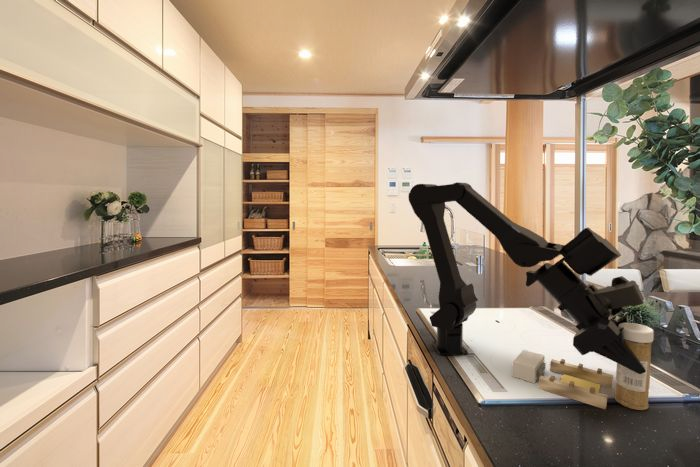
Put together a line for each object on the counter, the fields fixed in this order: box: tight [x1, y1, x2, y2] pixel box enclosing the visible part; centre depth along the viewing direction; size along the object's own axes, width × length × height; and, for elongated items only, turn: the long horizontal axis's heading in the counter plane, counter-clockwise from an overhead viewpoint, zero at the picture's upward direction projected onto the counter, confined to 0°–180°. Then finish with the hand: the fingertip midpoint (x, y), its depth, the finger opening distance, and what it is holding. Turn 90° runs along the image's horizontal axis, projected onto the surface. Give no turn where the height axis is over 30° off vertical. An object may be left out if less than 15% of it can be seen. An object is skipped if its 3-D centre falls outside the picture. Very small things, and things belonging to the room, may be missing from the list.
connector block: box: [511, 349, 546, 384], centre depth 69 cm, size 4×7×3 cm, turn 138°
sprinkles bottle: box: [614, 322, 655, 411], centre depth 58 cm, size 5×5×13 cm
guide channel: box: [538, 358, 614, 410], centre depth 64 cm, size 10×10×3 cm
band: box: [559, 374, 602, 393], centre depth 64 cm, size 6×7×1 cm
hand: (643, 367), depth 57 cm, fingers closed on sprinkles bottle, 4 cm apart
